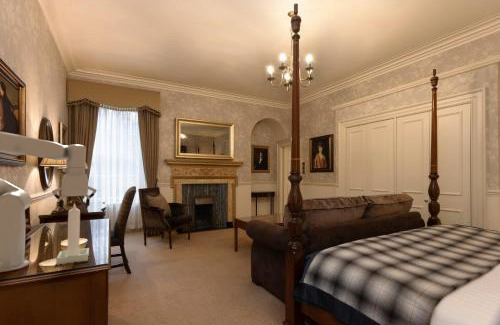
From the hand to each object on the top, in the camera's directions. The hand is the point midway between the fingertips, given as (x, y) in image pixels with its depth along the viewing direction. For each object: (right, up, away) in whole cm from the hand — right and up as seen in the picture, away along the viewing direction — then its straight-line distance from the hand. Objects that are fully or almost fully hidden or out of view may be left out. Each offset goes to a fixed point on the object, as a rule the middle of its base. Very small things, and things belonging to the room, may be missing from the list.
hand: (74, 208), depth 123 cm
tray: (0, -23, -1) cm, 23 cm away
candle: (0, -23, -1) cm, 23 cm away
